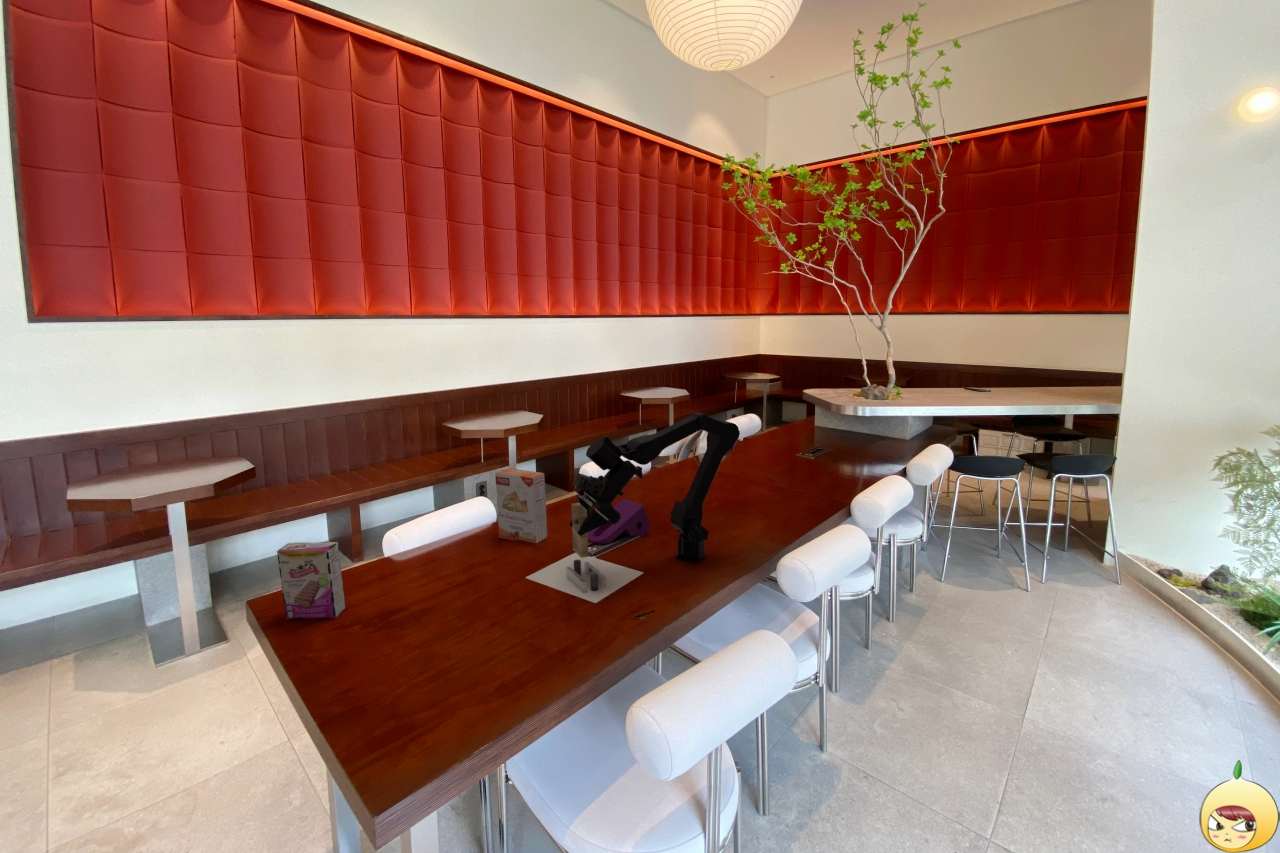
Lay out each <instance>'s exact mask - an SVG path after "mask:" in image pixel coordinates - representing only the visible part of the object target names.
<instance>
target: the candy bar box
mask: <svg viewBox="0 0 1280 853" xmlns="http://www.w3.org/2000/svg"><path fill="white" fill-rule="evenodd" d="M339 548H340V546H339V542H338V541H331V542H330V541H329V542H321V541H320V542H288V543H286V544H285V545H284V546H282V547H281V548H279V549H278V550H277V551H276V553H277V560H278V561H277V562H278V570H279V577H280V582H281V590H282V597H283V605H284V606H283V607H284V612H285V619H286V620H305V619H306V620H307V619H308V620H309V619H311V620H312V619H336V618H338V617H339V615H340V614H341V613H342V612H343V611H344V610H345V609H346V602H345V600H346V599H345V592H344V591H345V590H344V584H343V576H342V567H341V566H342V565H341V558H340V557H341V556H340V549H339Z"/></svg>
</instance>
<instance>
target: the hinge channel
mask: <svg viewBox="0 0 1280 853" xmlns="http://www.w3.org/2000/svg"><path fill="white" fill-rule="evenodd" d="M584 569H585V573H586V574H587V575H589V576H590V580H591V591H597V590H598V584H599V585H600V586H601V587H606V577H605V576H604V575H603V574H602V573H601V572H599V571H598V570H597V569H596V568H595V567H593V566H592V565H591V564H590V563H589V562H586V563H584ZM580 575H581V560H574V570H573V569H572V568H571V567H570V566H569V567H566V577H567V578H568V579H569V580H571V581H572V582H573V583H574V584H575V585H576V586H577V587H578V588H579V589H580V590H581V591H582V592H583V593H584V592H587V581H585V580H584V579H583V578H582V577H581V576H580Z"/></svg>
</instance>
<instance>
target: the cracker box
mask: <svg viewBox="0 0 1280 853" xmlns="http://www.w3.org/2000/svg"><path fill="white" fill-rule="evenodd" d="M495 489H496V490H495V492H496V506H497V520H498V521H497V522H498V535H499V536H498V537H499V539H503V540H506V541H507V540H508V541H511V542H513V541H523V542H527V543H532V544H538V543H539V542H541V541H543V540H545V539H548V522H547V521H548V520H547V501H546V499H547V498H546V479H545V473H544V472H539V471H538V472H537V471H532V470H525V469H518V468H512V467H506V468H503V469H500V470H496V471H495Z"/></svg>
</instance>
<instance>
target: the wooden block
mask: <svg viewBox="0 0 1280 853" xmlns="http://www.w3.org/2000/svg"><path fill="white" fill-rule="evenodd" d="M570 507H571V519H572V527H571V529H572V532H571V533H572V550H573V551H574V553H577V554H578V555H579V556H580V558H584V557H589V556H590V555H589V554H590V553H589V540H588V532H587V533H585V534H583V535H581V536H580V535H579V534H578V531H579V529H580V527H581V526H582V524H583V523H584V521H585V520H586V518H587V509H585V508H584V507H583V506H582V505H581V504H580V503H577V502H575V503H571V505H570Z"/></svg>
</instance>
